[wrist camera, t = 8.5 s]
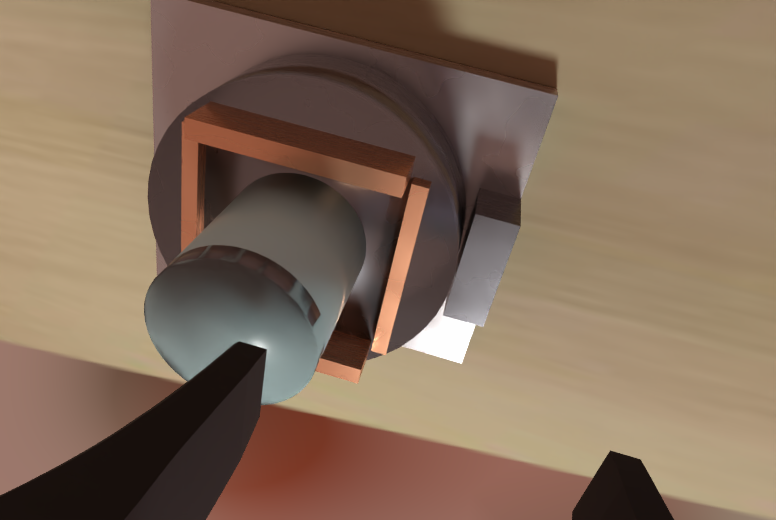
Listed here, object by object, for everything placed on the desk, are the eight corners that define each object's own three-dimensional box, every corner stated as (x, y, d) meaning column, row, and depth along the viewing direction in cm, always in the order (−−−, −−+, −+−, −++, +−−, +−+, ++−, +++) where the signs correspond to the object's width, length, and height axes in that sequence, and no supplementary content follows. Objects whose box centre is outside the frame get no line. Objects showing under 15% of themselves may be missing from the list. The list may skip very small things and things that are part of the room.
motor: (556, 88, 18) (567, 147, 14) (463, 350, 24) (449, 450, 20) (163, -13, 19) (52, 12, 14) (166, 265, 25) (88, 342, 20)
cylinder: (378, 195, 17) (330, 289, 13) (353, 312, 19) (305, 425, 15) (235, 155, 17) (141, 235, 13) (227, 276, 20) (146, 376, 15)
